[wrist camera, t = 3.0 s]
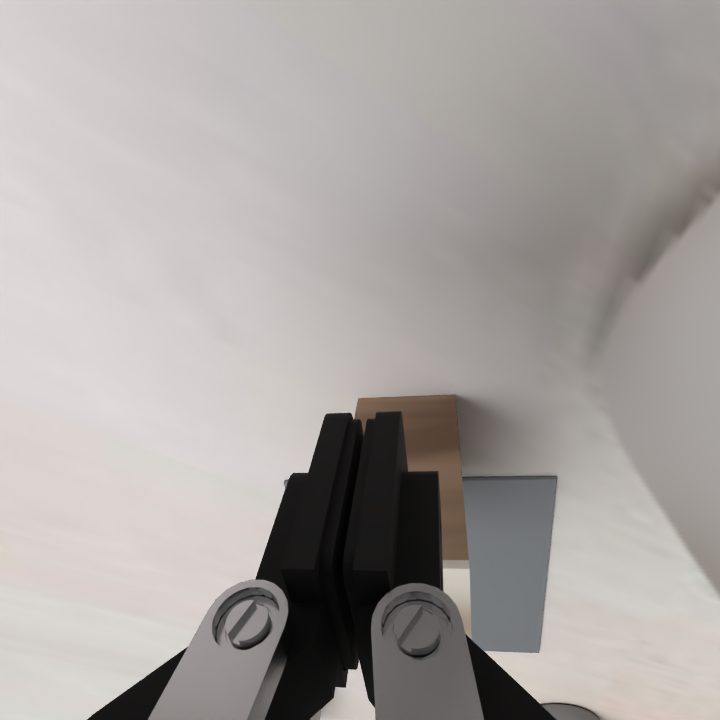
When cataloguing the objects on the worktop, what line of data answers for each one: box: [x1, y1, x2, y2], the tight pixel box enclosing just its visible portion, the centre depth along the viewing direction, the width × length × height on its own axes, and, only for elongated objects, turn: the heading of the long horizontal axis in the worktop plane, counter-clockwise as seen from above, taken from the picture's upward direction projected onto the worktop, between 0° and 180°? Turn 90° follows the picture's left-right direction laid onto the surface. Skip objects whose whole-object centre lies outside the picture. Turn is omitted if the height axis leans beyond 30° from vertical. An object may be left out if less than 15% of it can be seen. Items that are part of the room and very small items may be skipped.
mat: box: [284, 476, 557, 653], centre depth 30 cm, size 16×14×1 cm
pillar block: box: [355, 395, 472, 640], centre depth 21 cm, size 4×4×9 cm
